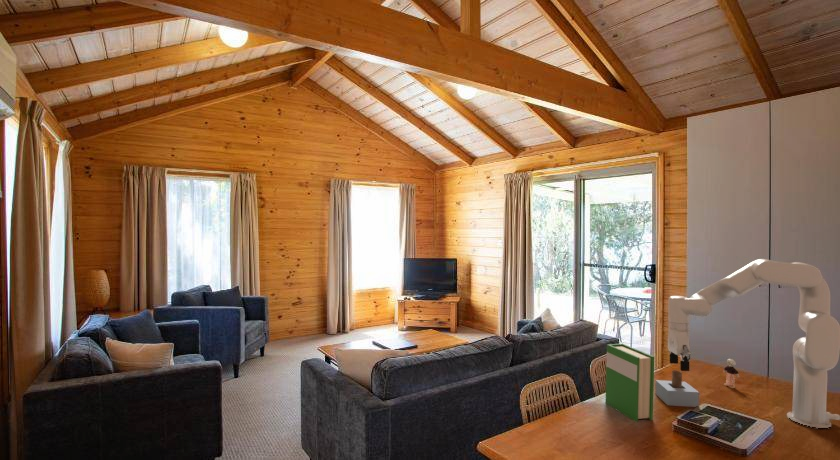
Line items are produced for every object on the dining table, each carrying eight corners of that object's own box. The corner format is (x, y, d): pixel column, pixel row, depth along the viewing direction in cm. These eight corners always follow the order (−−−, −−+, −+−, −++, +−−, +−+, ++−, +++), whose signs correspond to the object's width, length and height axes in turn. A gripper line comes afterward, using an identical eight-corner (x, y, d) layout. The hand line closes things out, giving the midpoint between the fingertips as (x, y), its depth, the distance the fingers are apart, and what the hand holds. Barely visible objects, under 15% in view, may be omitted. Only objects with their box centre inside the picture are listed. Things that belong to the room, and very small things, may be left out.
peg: (678, 398, 188) (679, 370, 188) (682, 402, 184) (683, 373, 184) (669, 398, 188) (670, 370, 188) (673, 401, 185) (674, 373, 184)
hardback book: (652, 420, 167) (654, 356, 167) (635, 421, 166) (637, 357, 165) (621, 401, 184) (622, 343, 184) (605, 402, 183) (606, 344, 182)
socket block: (684, 395, 192) (685, 381, 191) (698, 407, 180) (699, 392, 180) (655, 393, 193) (655, 380, 193) (667, 405, 181) (667, 390, 181)
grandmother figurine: (719, 384, 205) (719, 357, 205) (724, 383, 207) (725, 356, 207) (736, 390, 198) (737, 362, 198) (742, 389, 200) (743, 361, 200)
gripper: (660, 321, 194) (660, 360, 195) (679, 330, 177) (679, 373, 177) (678, 321, 194) (679, 360, 194) (699, 331, 176) (699, 374, 177)
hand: (679, 366), depth 186 cm, fingers open, 9 cm apart
